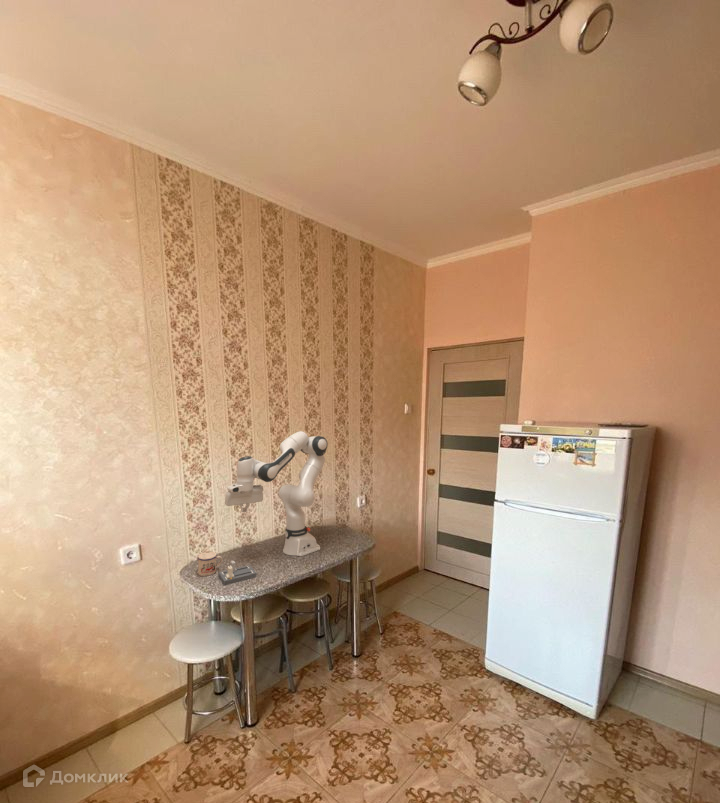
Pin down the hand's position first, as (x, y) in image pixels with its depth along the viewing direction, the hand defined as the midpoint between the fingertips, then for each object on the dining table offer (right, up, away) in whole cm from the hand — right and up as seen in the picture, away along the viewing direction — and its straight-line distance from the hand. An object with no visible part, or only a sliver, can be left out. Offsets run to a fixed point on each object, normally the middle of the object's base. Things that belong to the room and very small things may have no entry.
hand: (244, 511), depth 199 cm
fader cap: (-1, -27, -19) cm, 33 cm away
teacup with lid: (-15, -29, -9) cm, 34 cm away
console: (+1, -29, -14) cm, 32 cm away
